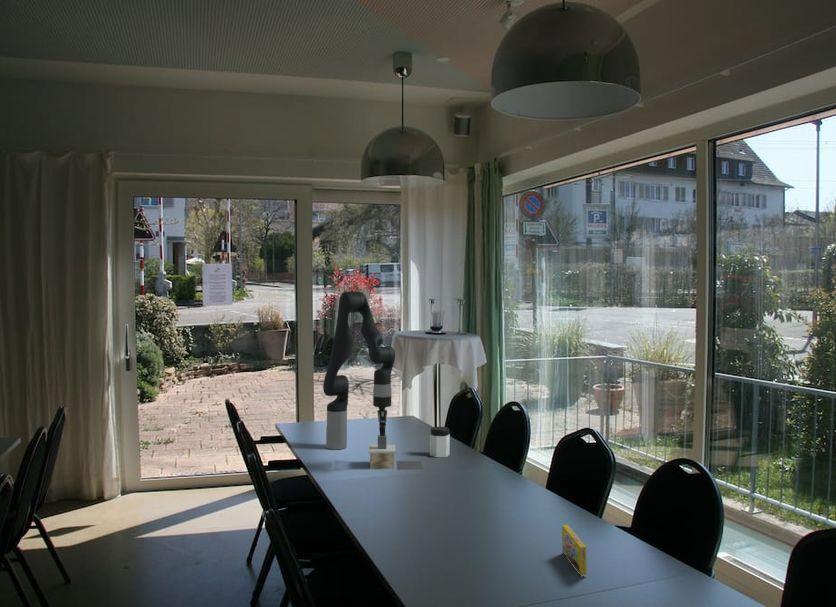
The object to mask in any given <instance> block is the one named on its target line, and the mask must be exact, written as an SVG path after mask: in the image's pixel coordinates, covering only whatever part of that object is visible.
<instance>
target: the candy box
mask: <svg viewBox="0 0 836 607" xmlns="http://www.w3.org/2000/svg"><path fill="white" fill-rule="evenodd" d="M561 534H562V536H561V538H562V539H561V540H562V545H561V546H562V553H563V552H564V553H565V554H566V556H567V557H568V559H569V560H570V561H571V563H572V564H573V565H574V567H575V568H576V569H577V571H578V572H579V573H580V575H583V574H584V575H586V574H587V546H586V545H585V544H584V542H583V541H582V540H581V539H580V538H579V536H578V535H577V534H576V532H574V531H573V529H572V528H571V527H570V525H569V524H563V525H561ZM568 559H567V560H568Z"/></svg>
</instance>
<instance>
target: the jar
mask: <svg viewBox="0 0 836 607" xmlns="http://www.w3.org/2000/svg"><path fill="white" fill-rule="evenodd" d="M450 440H451V434H450V428H449V427H446V426H433V427H430V434H429V456H430V457H433V458H436V457H439V458H447V457H449V456H450V452H451V451H450V450H451V447H450V443H451V442H450Z"/></svg>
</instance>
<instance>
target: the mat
mask: <svg viewBox="0 0 836 607" xmlns="http://www.w3.org/2000/svg"><path fill="white" fill-rule="evenodd" d="M396 467H397V470H424V467H423V464H422V460H397V461H396Z"/></svg>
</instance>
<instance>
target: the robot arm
mask: <svg viewBox="0 0 836 607" xmlns="http://www.w3.org/2000/svg"><path fill="white" fill-rule="evenodd" d="M337 308H338V309H337V319H336V326H335V332H334V334H333V341H332V345H331V351H330V357H329V361H328V365H327V369H326V372H325V376H324V379H323V385H322V388H323V389H322V390H323V393H324V395H325V396H327V397H336V398H334V400H333V401H331V402H328V403H327V405H326V430H325V432H326V435H325V440H326V446H325V447H326V449H327V450H344V449H347V446H348V438H347V437H348V406H349V391H350V390H349V388H350V383H349V379H348V377H347V375H343V374H340V375H339V374H338V373H339V370H340V369H341V368H342V366H343V365H344V364H345V363H346V362H347V361H348V359H349V358H350V357H351V356H352V352H353V348H354V344H355V338H354V337H355V336H354V334H353V332H352V330H351V327H350V324H349V317H350V316H349V315H350V313H351V314H352V313H360V315H361V317H362V322H361V328H360V331H361V335H362V338H363V339H364V341H365V343H366V344H367V350H368V355H369V360H370V361H371V363H373V364H377V365H380V364H382V366H381V367H380V368H378V369H376V370H374V371H373V388H372V391H373V392H372V394H373V395H372V396H373V398H372V399H373V400H372V401H373V402H372V405H373V407H375V408H378V410H377V419H378V420H377V421H378V423H379V427H378V428H379V429H378V430H379V435H380V436H385V435H386V426H387V424H386V422H387V419H388V410H387V409H386V408H389V407H391V406H392V371H393V368H394V364H395V360H396V352H395V350H394V348H393V347H392V346H389V345H387V346H384V345H383V346H382V344H383V343H384V337H383V336H382V334H381V332H380V330H379V328H378V326H377V325H376V322H375V320H374V317H373V313H372V311H371V307H370V305H369V302H368V299H367V296H366V295H365V293H363V292H362V291H343V292H341V294H340V297H339V301H338V307H337ZM343 448H344V449H343Z"/></svg>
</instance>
